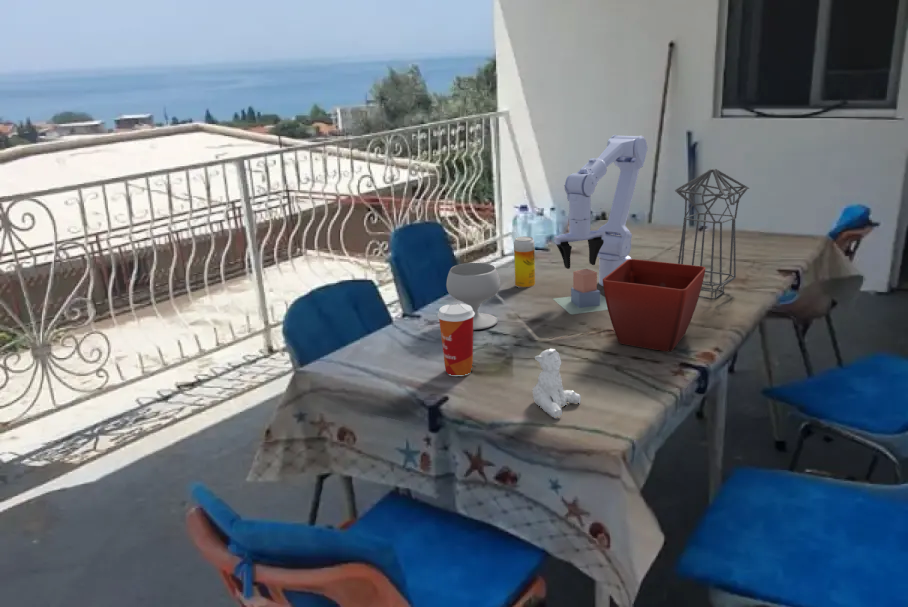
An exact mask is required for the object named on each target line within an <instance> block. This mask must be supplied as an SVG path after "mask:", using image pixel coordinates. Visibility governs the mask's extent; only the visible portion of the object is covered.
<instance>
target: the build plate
mask: <svg viewBox="0 0 908 607" xmlns="http://www.w3.org/2000/svg"><path fill="white" fill-rule="evenodd" d="M552 300H553V301H554V302H556V303H557V304H558V305H559V306H560V307H561V308H562V309H564V310H565V311H566V312H567V313H568V314H569V315H579V314H585V313H586V314H588V313H593V312H601V311H603V312H604V311H608V308H607V303H606V299H605V295H602V294H601V293H600V305H599V306H591V307H583V308H579V307H577V306H576V305H575V304H574V303H573V302H571V295H570V296H564V297H554V298H552Z"/></svg>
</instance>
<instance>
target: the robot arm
mask: <svg viewBox="0 0 908 607" xmlns="http://www.w3.org/2000/svg"><path fill="white" fill-rule="evenodd" d="M647 152H648V145H647V140H646V138H645V137H644V135H618V134H613V135H611V137H610V138H608V140H607V143H606V148H605V149H604V150H603V151H602V152H601V153H600V155H599V156H598V157H593V158H592V157H590V158H589V159H588V161H587V162H586V163H585V164H584V165H583V166H582V167H581V168H580V169H579V170H578V171H577V172H573V173H571V174H569V175H568V176H567V177H566V180H565V184H564V185H563V186H564V191H565V193H566V200H567V202H568V209H569V210H568V212H569V213H568V216H569V217H568V218H569V220H568V222H569V224H568V225H569V226H568V227H569V228H568V232H567V233H564V234H560V235H554V236H553V240H554V241H553V243H554V244H555V245H556V247H557V249H558V251H559V252H560V255H561V257H562V261H563V266H564V268H565V269H567V270H569V269H571V253H572V249H573V247H572V245H570V243H575V242H580V241H581V242H582V241H587V244H588V251H589V253H588V255H589V256H588V263H589V264H590V265H591V266H595V265H596V264H597V263H596V261H597V258H599V259H598V260H599V261H598V285H600V286H602V287H603V278H605V277H606V276H607V275H609V274H610V273H611V272H613V271H614V270H615V269H616V268H618V267H619V266H620V265H621V264H623V263H624V262H625V261H626V260H628V259H632V257H631V256H630V253H631V250H632V238H633V234H632V232H631V231H630V230H629V228H628V227H627V225H626V224H627V220H628V217H629V212H630V209H631V205H632V201H633V197H634V193H635V189H636V184H637V180H638V177H639V172H640V169H641V168H643V167H644V164H645V160H646V156H647ZM611 164H614V165H615V166H616V167H617V168H619V171H620V172H619V176H618V181H617V184H616V188H615V192H614V197H613V200H612V204H611V209H610V211H609V217H608V219H607V220H608V221H607V222H606V223H605V224H603V225H601V226H600V227H599V228H598V229H597V230H591V229H592V228H591V223H592V222H591V212H592V209H591V206H592V203H591V202H592V198H591V197H592V195H593V194H594V192H595V189H596V186H597V184H598V182H600V180H601V179H602V178H603V177H604V176H605V175H606V174H607V171H608V167H609V166H610V165H611Z"/></svg>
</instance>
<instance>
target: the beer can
mask: <svg viewBox="0 0 908 607" xmlns="http://www.w3.org/2000/svg"><path fill="white" fill-rule="evenodd" d="M535 250H536V249H535V240H534V238H533V237H532V236H518V237H516V238H514V240H513V254H514V255H513V264H514V266H513V267H514V286H516V288H517V287H518V288H517V289H522V288H532V287H534V286H535V285H536V260H535V258H536V256H535Z"/></svg>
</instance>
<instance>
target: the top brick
mask: <svg viewBox="0 0 908 607" xmlns="http://www.w3.org/2000/svg"><path fill="white" fill-rule="evenodd" d="M572 275H573V276H572V277H573V281H572V284H573V285H572V287H573V289H575V290H577V291H580V292H582V293H585V292H590V291H594V290H598V287H597V286H598V272H596V271H594V270H591V269H589V268H583V269H579V270H574V271H573V272H572Z"/></svg>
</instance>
